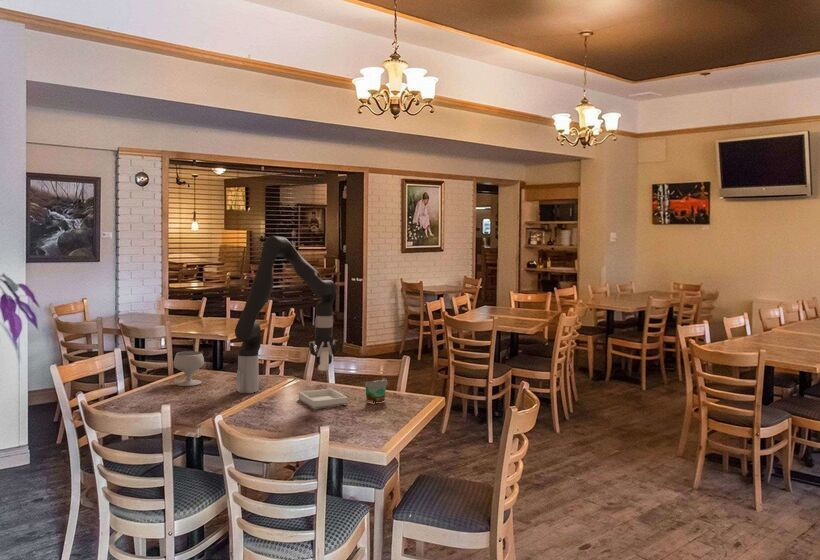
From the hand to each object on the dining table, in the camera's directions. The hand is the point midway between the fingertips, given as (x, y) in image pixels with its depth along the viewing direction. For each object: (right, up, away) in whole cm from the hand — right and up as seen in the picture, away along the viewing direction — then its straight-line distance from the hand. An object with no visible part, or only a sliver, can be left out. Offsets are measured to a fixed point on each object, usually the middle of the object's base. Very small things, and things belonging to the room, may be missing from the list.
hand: (323, 364), depth 282 cm
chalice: (-69, -14, +31) cm, 77 cm away
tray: (0, -17, +1) cm, 17 cm away
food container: (+24, -18, +3) cm, 30 cm away
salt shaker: (0, -2, 0) cm, 2 cm away
